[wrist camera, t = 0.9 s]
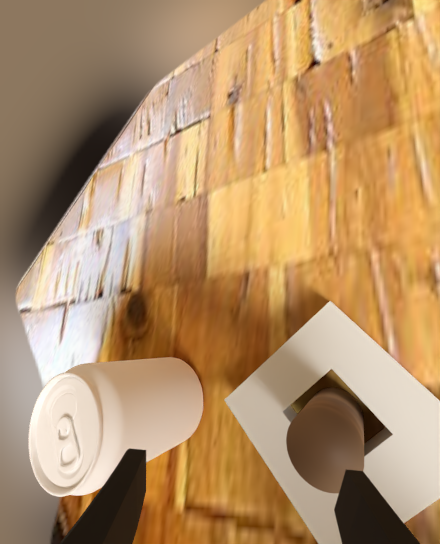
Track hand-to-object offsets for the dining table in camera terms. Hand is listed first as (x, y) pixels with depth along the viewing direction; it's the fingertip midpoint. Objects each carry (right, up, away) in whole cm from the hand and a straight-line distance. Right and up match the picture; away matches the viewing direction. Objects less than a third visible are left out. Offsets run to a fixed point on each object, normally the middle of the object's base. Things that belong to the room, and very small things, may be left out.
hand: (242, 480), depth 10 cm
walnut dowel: (+8, -4, +11) cm, 14 cm away
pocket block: (+8, -4, +11) cm, 14 cm away
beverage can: (-6, -6, +18) cm, 20 cm away
